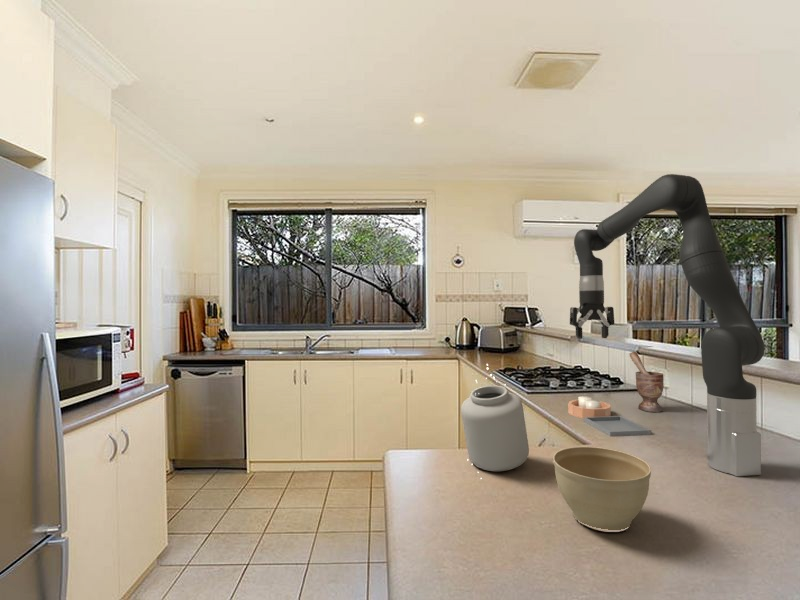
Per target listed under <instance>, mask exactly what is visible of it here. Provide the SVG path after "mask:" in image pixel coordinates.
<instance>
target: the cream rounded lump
mask: <svg viewBox="0 0 800 600" xmlns="http://www.w3.org/2000/svg"><path fill="white" fill-rule="evenodd" d="M578 400H579V407H583V408H586V400H593V397H591V396H587V395H586V396H585V395H584V396H583V395H581V396H578Z"/></svg>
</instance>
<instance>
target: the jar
mask: <svg viewBox="0 0 800 600" xmlns="http://www.w3.org/2000/svg"><path fill="white" fill-rule="evenodd" d="M486 366H488V367H486V370H487V371H488V370H490V368H489V364H488V363H486ZM489 376H490V377H492V376H493V374H492V373H491V374H489ZM492 378H493V380H494V381H495V380H496V378H495V376H493V377H492ZM485 379H486V380H487V379H488V377H485ZM475 382H476V384H478V380H477V379H475ZM496 383H498V381H497V380H496ZM505 386H506V383H504V386H503V385H495V384H491V385H484V386H480V387H477V388H475V389H473V390H471V392H470V395H469V397H467V398H466V399H465V400H463V402H462V404H461V407H460V412H461V419H462V425H463V426H462V427H463V431H464V437H465V444H466V450H467V455H468V457H469V459H468V458H467V461H469V460H470V461H471V466H473V465H474V466H476V467H477V468H479V469H481V470H485V471H488V472H489V471H490V472H505V471H510V470H513V469H515V468H518V467H520V466H521V465H523V464H524V463H526V460H527V459H528V457H529V454H530V448H529V447H530V446H529V440H528V433H527V427H526V421H525V413H524V406H523V402H522V400H521V398H520V397H519V396H518V395H517V394H514V393H512V392H510V391H509V390H508V387H505ZM477 473H478V474H479V473H480V472H479V471H477ZM480 480H483V478H482V477H480Z"/></svg>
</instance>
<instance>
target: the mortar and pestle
mask: <svg viewBox="0 0 800 600" xmlns="http://www.w3.org/2000/svg"><path fill="white" fill-rule="evenodd" d="M628 354H629V357H630V359H631V361H632V362H633V364H634V365H635V366H636V368H637V369H638V371H636V372H635V383H636V384H635V385H636V390H637V393H638V395H639V396H640V397H641V398H642V400H641V402H639V404H638V408H637V409H638V410H641V411H644V412H649V413H650V412H651V413H657V412H658V413H660V412H662V411H663V407H662V405H661V404H660V403H659V402H658V400H659V399H660V397H662V395H663V391H664V373H662V372H658V371H647V369H646V367H645V366H644V363H643V362H642V360H641V357H640V356H639V354H638V353H637V351H632V352H630V353H628Z"/></svg>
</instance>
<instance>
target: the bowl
mask: <svg viewBox="0 0 800 600" xmlns="http://www.w3.org/2000/svg"><path fill="white" fill-rule="evenodd" d="M599 401H600V400H599ZM567 406H568V407H567V409H568V411H567V413H568V414H569V415H571V416H573V417H576V418H581V419H584V417H604V416H611V413H612V412H611V410H612V409H611V408H612V407H611V404H610V403H608V402H605V401H600V408H594V409H593V408H583V407H579V399H572V400H569V401H568V404H567Z"/></svg>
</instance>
